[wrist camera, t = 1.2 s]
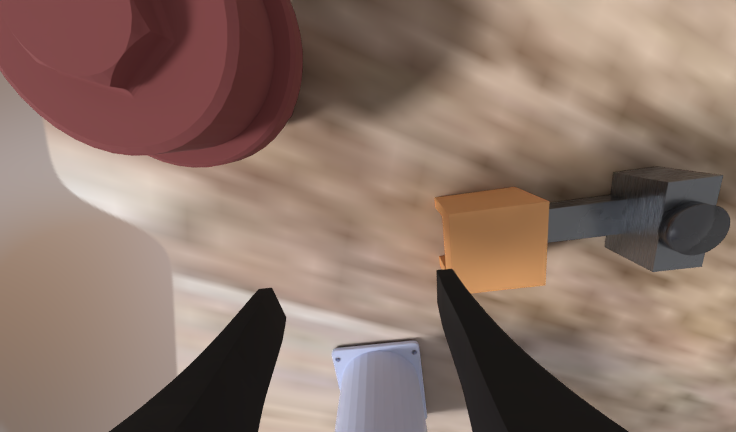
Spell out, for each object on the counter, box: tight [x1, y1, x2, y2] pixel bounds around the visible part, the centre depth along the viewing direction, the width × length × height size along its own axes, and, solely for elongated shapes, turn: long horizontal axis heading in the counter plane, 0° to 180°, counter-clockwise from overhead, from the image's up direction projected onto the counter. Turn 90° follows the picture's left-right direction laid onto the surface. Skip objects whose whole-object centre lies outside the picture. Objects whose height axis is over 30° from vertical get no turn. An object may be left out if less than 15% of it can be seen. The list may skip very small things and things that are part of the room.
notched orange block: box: [435, 187, 549, 293], centre depth 20 cm, size 6×6×4 cm
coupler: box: [547, 167, 730, 272], centre depth 19 cm, size 6×10×5 cm, turn 98°
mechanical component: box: [0, 0, 303, 167], centre depth 13 cm, size 12×10×10 cm
